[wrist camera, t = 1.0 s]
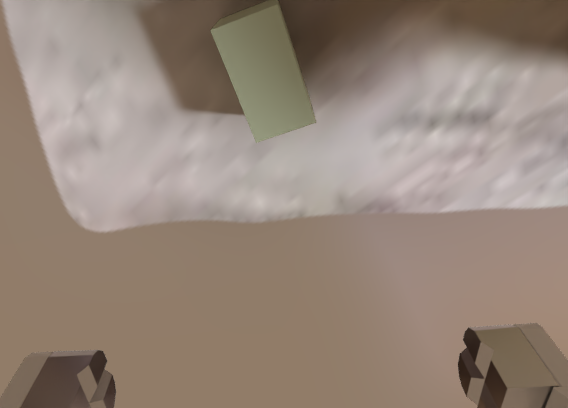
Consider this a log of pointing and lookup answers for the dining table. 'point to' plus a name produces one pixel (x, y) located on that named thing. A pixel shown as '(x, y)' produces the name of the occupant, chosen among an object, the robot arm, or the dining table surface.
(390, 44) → the dining table surface
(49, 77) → the dining table surface
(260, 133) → the sage block
